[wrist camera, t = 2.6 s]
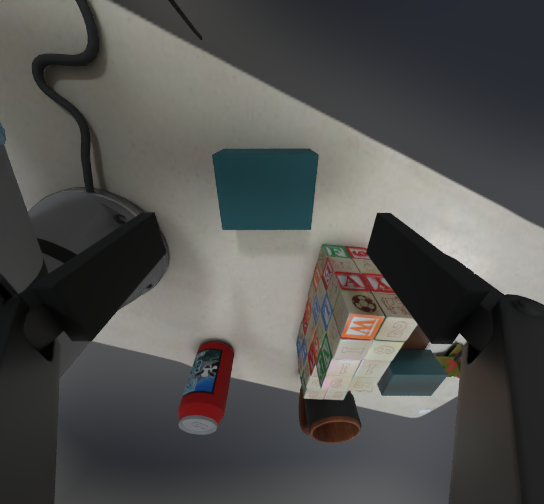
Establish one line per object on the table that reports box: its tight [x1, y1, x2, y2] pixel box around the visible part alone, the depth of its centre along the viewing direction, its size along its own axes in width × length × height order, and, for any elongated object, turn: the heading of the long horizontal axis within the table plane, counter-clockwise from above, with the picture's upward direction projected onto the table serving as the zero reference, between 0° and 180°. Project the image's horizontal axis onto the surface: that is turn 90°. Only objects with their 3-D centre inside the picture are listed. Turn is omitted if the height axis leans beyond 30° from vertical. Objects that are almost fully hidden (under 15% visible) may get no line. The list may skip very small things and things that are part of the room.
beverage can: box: [178, 341, 234, 434], centre depth 35 cm, size 7×7×12 cm
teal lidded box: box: [377, 325, 448, 396], centre depth 36 cm, size 17×9×6 cm, turn 0°
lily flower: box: [435, 344, 463, 378], centre depth 39 cm, size 12×12×5 cm
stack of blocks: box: [297, 245, 418, 400], centre depth 28 cm, size 21×6×12 cm, turn 174°
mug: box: [299, 371, 361, 443], centre depth 37 cm, size 9×12×12 cm
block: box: [212, 149, 319, 230], centre depth 21 cm, size 7×9×5 cm
